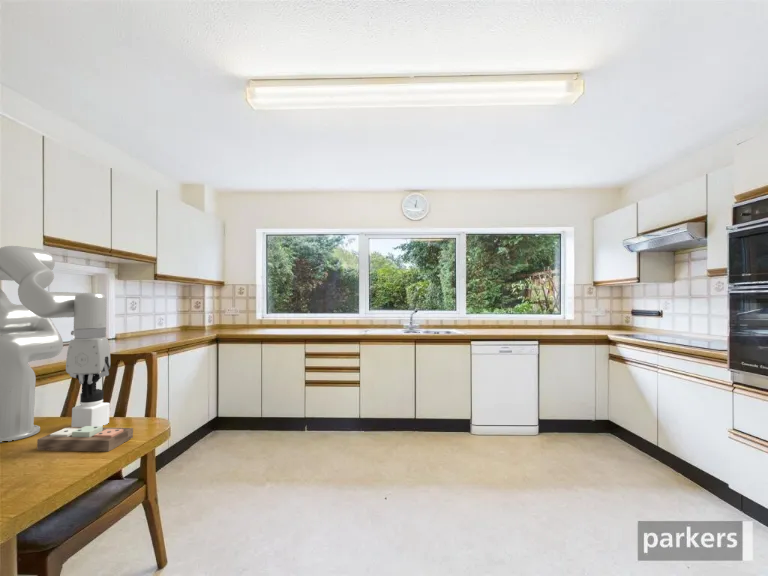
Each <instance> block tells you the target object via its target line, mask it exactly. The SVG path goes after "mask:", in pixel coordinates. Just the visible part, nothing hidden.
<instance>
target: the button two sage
mask: <svg viewBox="0 0 768 576" xmlns="http://www.w3.org/2000/svg"><path fill="white" fill-rule="evenodd" d="M103 428H104V426H85V427H82V428H80V429H78V430H75V431H73V432H72V437H91V436H93V435H95V434H97V433H99V432H102V431H103Z"/></svg>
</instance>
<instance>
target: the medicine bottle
mask: <svg viewBox="0 0 768 576" xmlns="http://www.w3.org/2000/svg"><path fill="white" fill-rule="evenodd" d="M79 398H80V399H79V404H80V405H76V406H74V407H72V409H71V427H85V426H103V425H104V426H107V425H109V424H110V411H111V410H110V408H111V407H110V406H111V405H110V402H104V390H103V389H101V388H96V395H95V396H93V397H90V398H82V392H81V393H80V397H79ZM108 423H109V424H108ZM104 426H103V427H104Z"/></svg>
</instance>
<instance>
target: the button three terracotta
mask: <svg viewBox="0 0 768 576" xmlns="http://www.w3.org/2000/svg"><path fill="white" fill-rule="evenodd" d="M123 431H124V429H106V430H104V431H102V432H99V433H97V434H95V435H94V437H106V438H112V437H114V436H116V435H118V434H120V433H122V432H123Z"/></svg>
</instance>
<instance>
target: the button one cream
mask: <svg viewBox="0 0 768 576" xmlns="http://www.w3.org/2000/svg"><path fill="white" fill-rule="evenodd" d="M78 429H80V428H66V427H64V428H62V429H60V430H57V431H54V432H52V433H49V434H50V436H51V437H68V436H70V435H72V432H73V431H75V430H78Z"/></svg>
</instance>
